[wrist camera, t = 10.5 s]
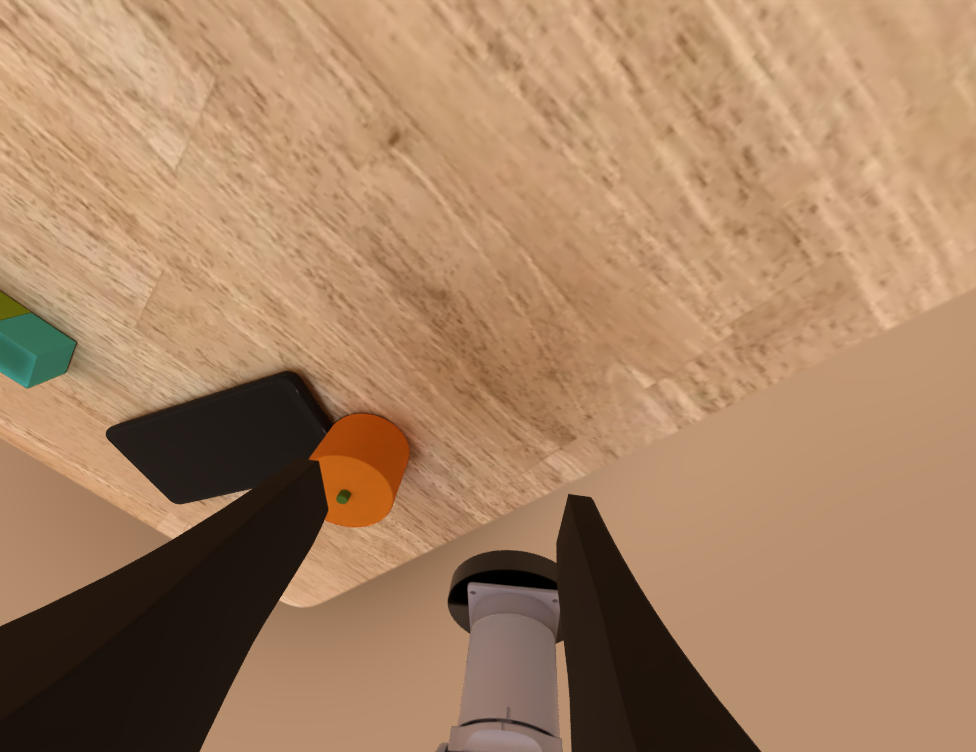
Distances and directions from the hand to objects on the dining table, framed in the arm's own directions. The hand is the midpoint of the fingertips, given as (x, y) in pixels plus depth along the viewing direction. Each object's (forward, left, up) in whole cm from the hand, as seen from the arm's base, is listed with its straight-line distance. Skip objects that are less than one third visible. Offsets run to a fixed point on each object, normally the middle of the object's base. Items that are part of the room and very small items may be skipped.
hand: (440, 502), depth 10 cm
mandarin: (-6, +7, -9) cm, 13 cm away
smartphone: (-6, +16, -9) cm, 20 cm away
